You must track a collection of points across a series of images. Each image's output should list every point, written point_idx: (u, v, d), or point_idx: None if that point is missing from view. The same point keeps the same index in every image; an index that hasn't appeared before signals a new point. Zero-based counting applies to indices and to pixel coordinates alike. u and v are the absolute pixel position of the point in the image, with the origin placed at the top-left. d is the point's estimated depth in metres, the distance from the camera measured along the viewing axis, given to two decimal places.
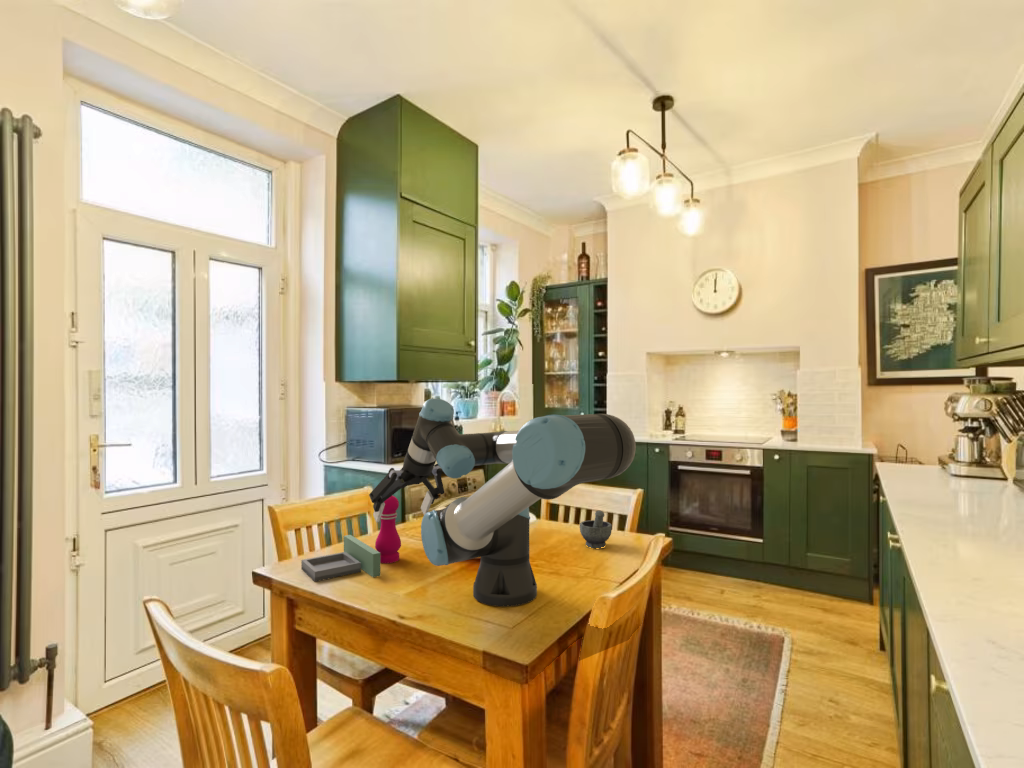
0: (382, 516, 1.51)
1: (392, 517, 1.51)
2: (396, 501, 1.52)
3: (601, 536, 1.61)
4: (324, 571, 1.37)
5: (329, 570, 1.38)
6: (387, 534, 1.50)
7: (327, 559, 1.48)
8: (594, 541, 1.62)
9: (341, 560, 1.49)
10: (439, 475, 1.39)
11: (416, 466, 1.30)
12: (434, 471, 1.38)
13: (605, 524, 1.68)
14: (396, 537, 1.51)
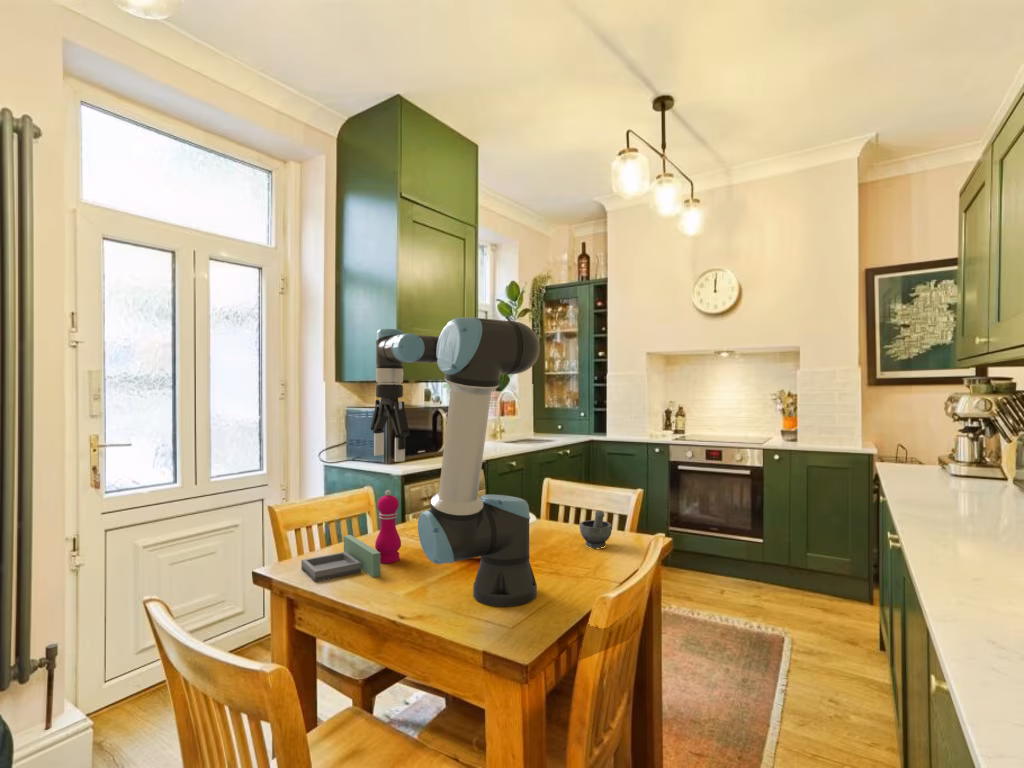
0: (382, 516, 1.51)
1: (392, 517, 1.51)
2: (396, 501, 1.52)
3: (601, 536, 1.61)
4: (324, 571, 1.37)
5: (329, 570, 1.38)
6: (387, 534, 1.50)
7: (327, 559, 1.48)
8: (594, 541, 1.62)
9: (341, 560, 1.49)
10: (395, 408, 1.46)
11: None
12: None
13: (605, 524, 1.68)
14: (396, 537, 1.51)
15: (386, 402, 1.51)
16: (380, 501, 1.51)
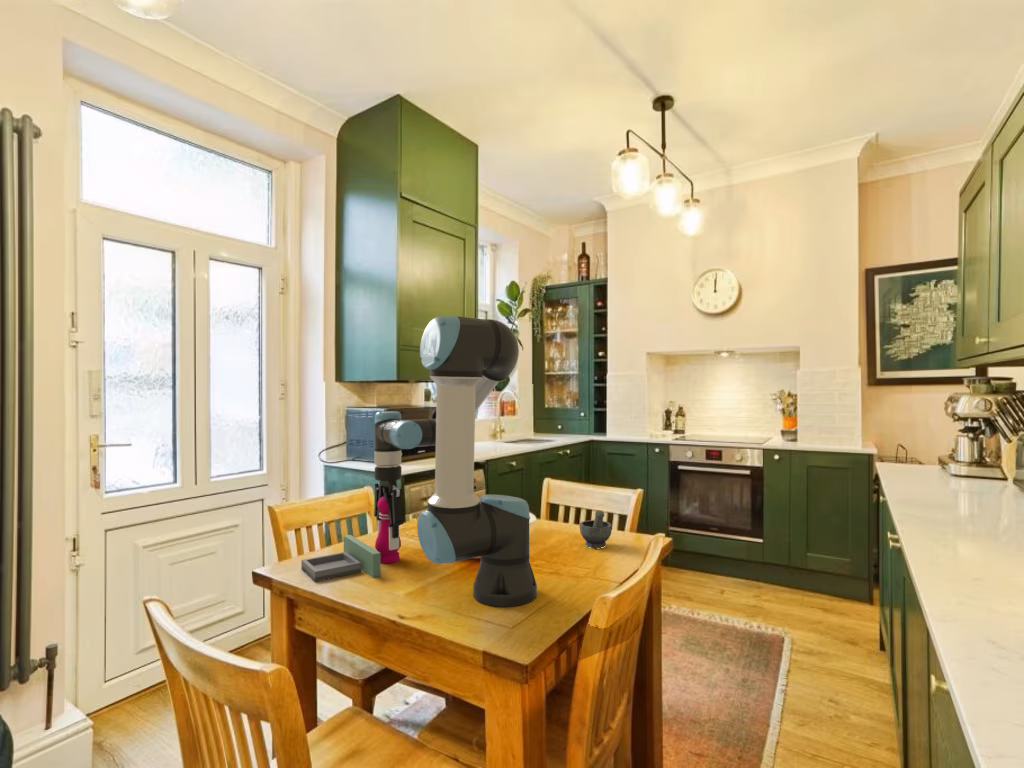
0: (382, 516, 1.51)
1: None
2: None
3: (601, 536, 1.61)
4: (324, 571, 1.37)
5: (329, 570, 1.38)
6: (387, 534, 1.50)
7: (327, 559, 1.48)
8: (594, 541, 1.62)
9: (341, 560, 1.49)
10: (393, 496, 1.47)
11: None
12: None
13: (605, 524, 1.68)
14: None
15: (385, 484, 1.52)
16: (380, 501, 1.51)
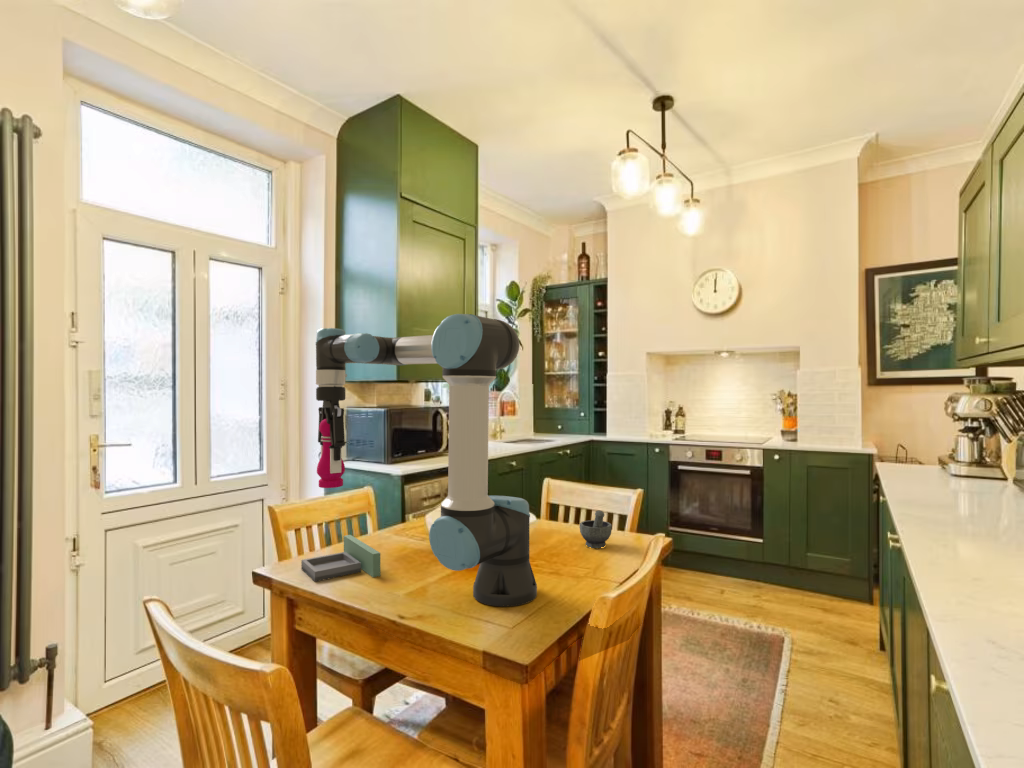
0: (324, 438, 1.42)
1: None
2: None
3: (601, 536, 1.61)
4: (324, 571, 1.37)
5: (329, 570, 1.38)
6: (328, 457, 1.42)
7: (327, 559, 1.48)
8: (594, 541, 1.62)
9: (341, 560, 1.49)
10: (333, 415, 1.39)
11: None
12: None
13: (605, 524, 1.68)
14: None
15: (327, 405, 1.44)
16: (322, 423, 1.42)
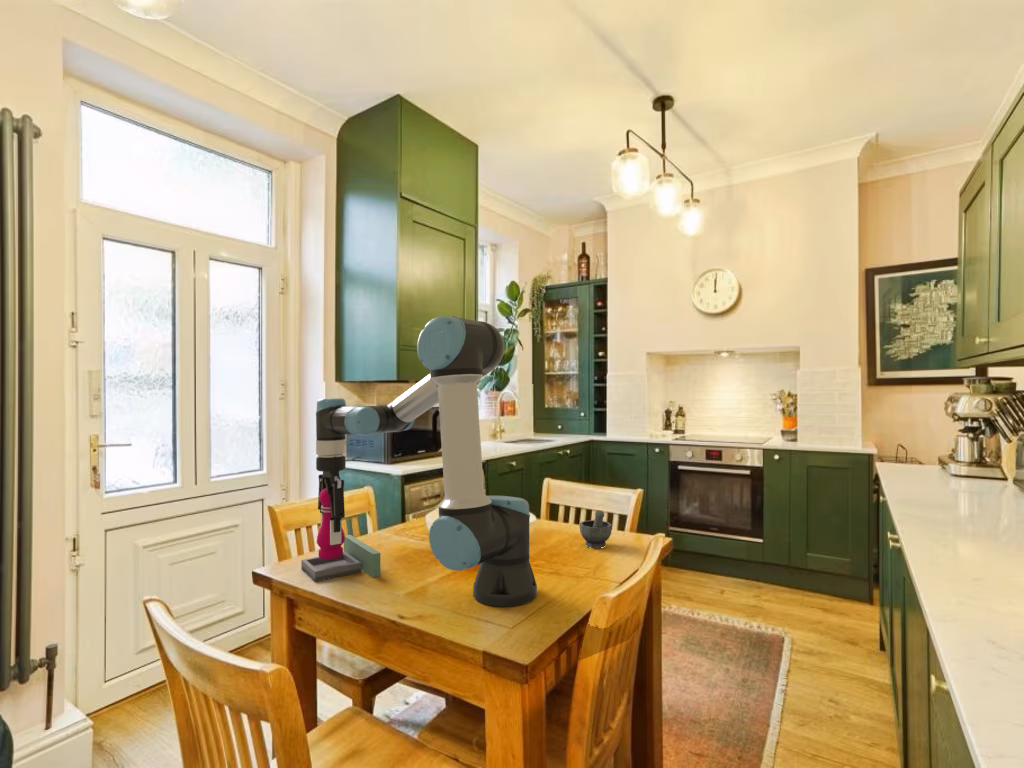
0: (324, 509, 1.42)
1: None
2: None
3: (601, 536, 1.61)
4: (324, 571, 1.37)
5: (329, 570, 1.38)
6: (328, 528, 1.42)
7: (327, 559, 1.48)
8: (594, 541, 1.62)
9: (341, 560, 1.49)
10: (333, 488, 1.39)
11: None
12: None
13: (605, 524, 1.68)
14: None
15: (327, 475, 1.43)
16: (322, 493, 1.42)
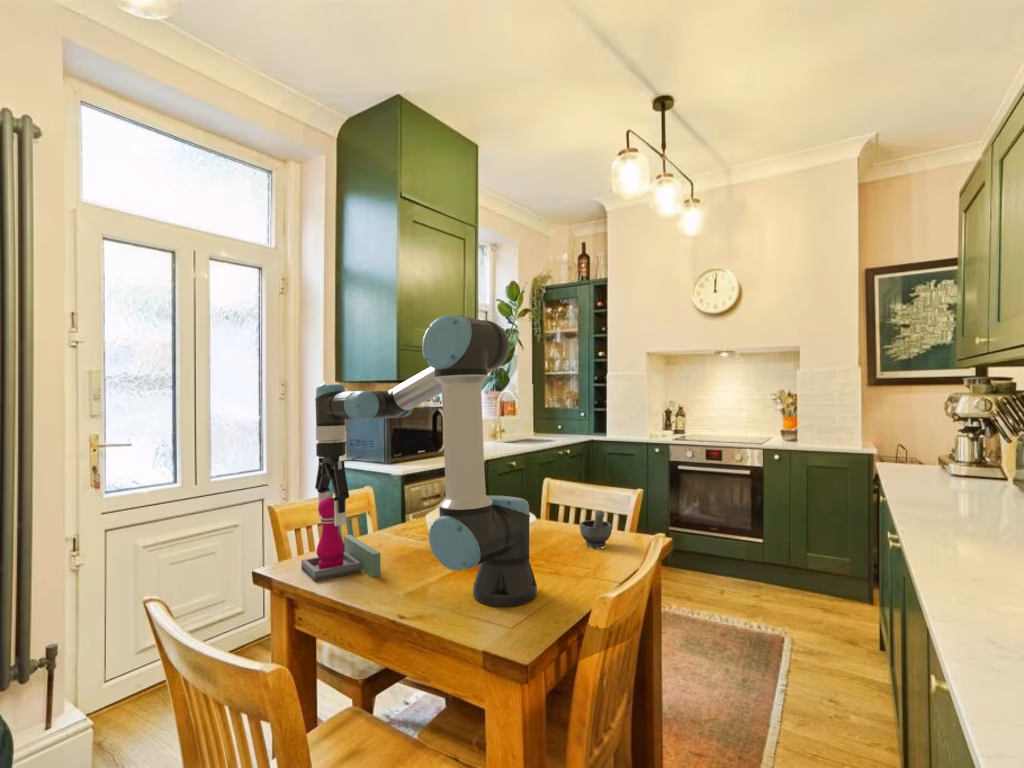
0: (323, 520, 1.42)
1: (334, 521, 1.42)
2: None
3: (601, 536, 1.61)
4: (324, 571, 1.37)
5: (329, 570, 1.38)
6: (328, 539, 1.42)
7: None
8: (594, 541, 1.62)
9: None
10: (334, 469, 1.38)
11: None
12: None
13: (605, 524, 1.68)
14: (338, 542, 1.43)
15: (327, 461, 1.43)
16: (320, 504, 1.42)
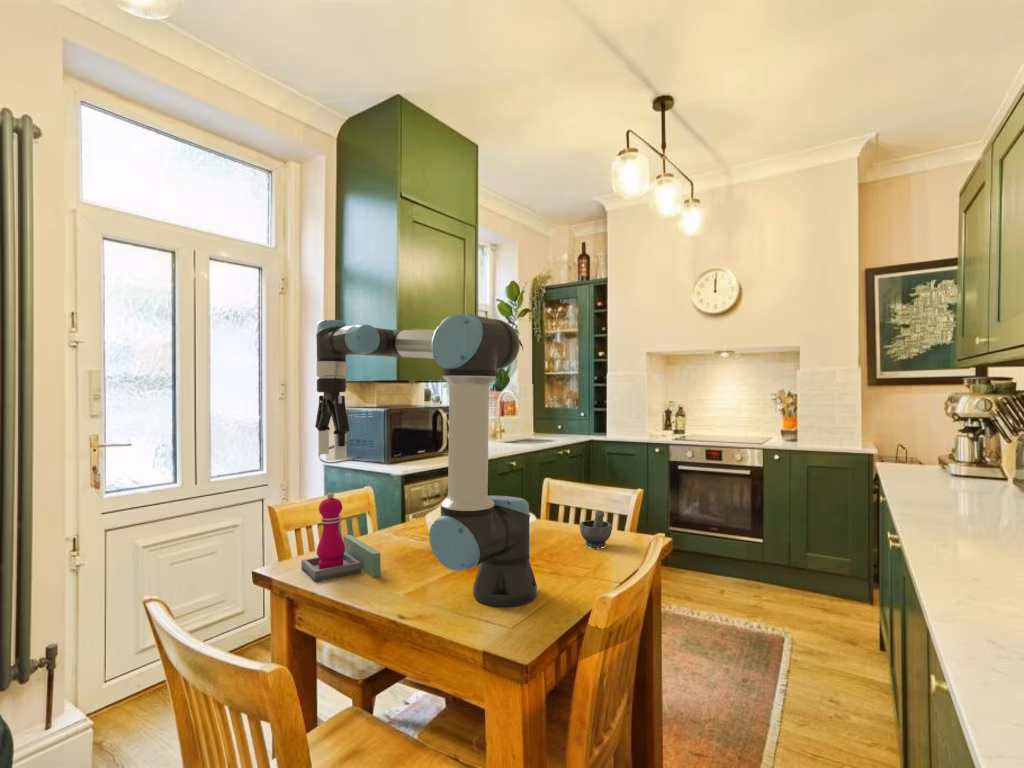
0: (323, 520, 1.42)
1: (334, 521, 1.42)
2: (339, 504, 1.43)
3: (601, 536, 1.61)
4: (324, 571, 1.37)
5: (329, 570, 1.38)
6: (328, 539, 1.42)
7: None
8: (594, 541, 1.62)
9: None
10: (335, 403, 1.39)
11: None
12: None
13: (605, 524, 1.68)
14: (339, 543, 1.43)
15: (327, 397, 1.44)
16: (321, 504, 1.42)
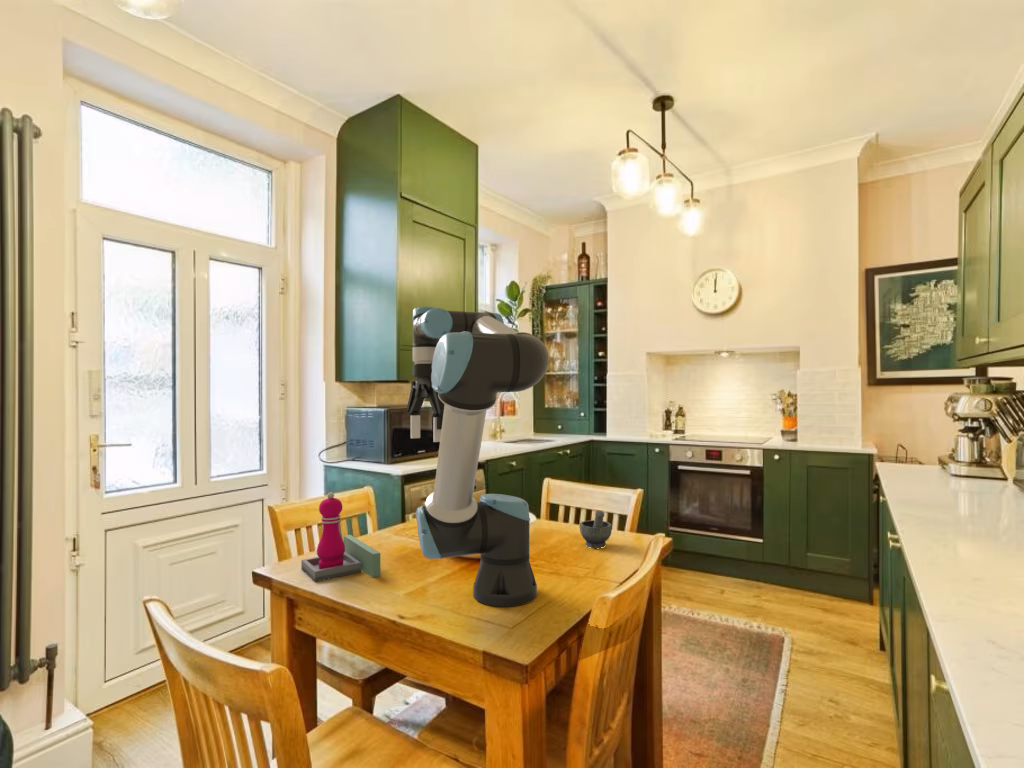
0: (324, 520, 1.42)
1: (334, 521, 1.42)
2: (339, 504, 1.43)
3: (601, 536, 1.61)
4: (324, 571, 1.37)
5: (329, 570, 1.38)
6: (329, 539, 1.42)
7: None
8: (594, 541, 1.62)
9: None
10: None
11: None
12: None
13: (605, 524, 1.68)
14: (339, 542, 1.43)
15: (423, 382, 1.47)
16: (321, 504, 1.42)
